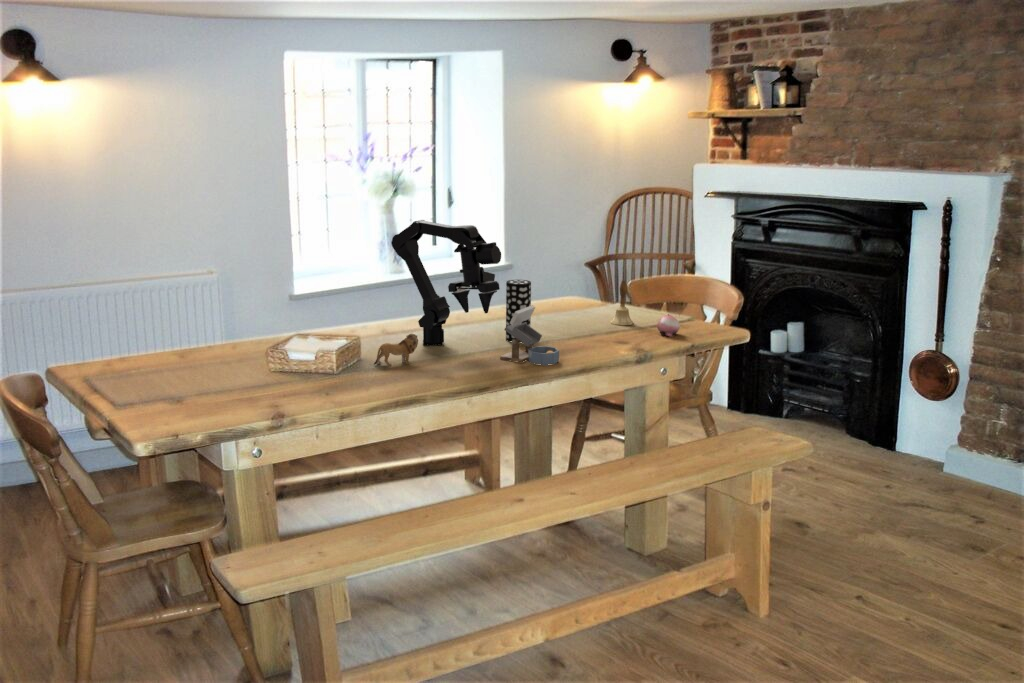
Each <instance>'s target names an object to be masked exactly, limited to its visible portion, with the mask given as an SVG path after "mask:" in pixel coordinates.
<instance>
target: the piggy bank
mask: <svg viewBox="0 0 1024 683" xmlns="http://www.w3.org/2000/svg"><path fill="white" fill-rule="evenodd" d="M680 326H681V325H680V322H679V320H678V319H677V318H676V317H675V316H673V315H672V314H669V313H667V314H665V315H664V316H662V317H660V318H659V319H658V321H657V324H656V328H657V330H658V331H659V334H661V335H663V336H667V337H669V338H674V337H676V336H677V334H678V332H679V331H680Z"/></svg>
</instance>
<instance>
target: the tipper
mask: <svg viewBox="0 0 1024 683" xmlns="http://www.w3.org/2000/svg"><path fill="white" fill-rule="evenodd" d="M535 309H536V306H535V305H532V304H531V306H529V307H526V308H524V309H521V310H518V311H515V313H514V315H513V317H512V319H511V321H510V324H511V325H509V326H507V327H506V326H505V327H504V330H503V331H505V332H506V331H507V332H508V333H509V334H511V335H512V336H513V337H515V338H516V339H518V340H519V341H520V342H522V344H523V345H524V346H525V345H526V346H527V347H529V346H531V345H532V346H533V345H535V344H538V343H540V341H541V339H542V337H543V334H541V333H540V332H539V331H537V330H536V329H534V328H533V327H531V325H530V326H529V325H527V323H526V322H524V323H522V322H523V321H525V320H528V319H530V317H532V315H533V313H534V311H535ZM521 323H522V324H521Z"/></svg>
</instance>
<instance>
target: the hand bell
mask: <svg viewBox="0 0 1024 683" xmlns="http://www.w3.org/2000/svg"><path fill="white" fill-rule="evenodd" d="M627 292H628V286H627V282H626V279H622V280H621V282H620V285H619V294H620V305H619V306H618V307H616V310H615V314H614V317H613V319H612V320H610V323H612V324H611V325H613V326H630V325H631V326H632V325H633V324H634V321H633V320H632V318H631V316H630V311H629V310H630V309H629V308H627V307H626V305H625V304H626V295H627Z"/></svg>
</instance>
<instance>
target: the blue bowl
mask: <svg viewBox="0 0 1024 683" xmlns="http://www.w3.org/2000/svg"><path fill="white" fill-rule="evenodd" d="M548 351H553V353H546V352H548ZM528 360H529V361H530V362H531V363H535V364H541V365H543V366H549V365H548V364H554V365H556V364H558V363H559V362H560V350H559V348H557V347H555V346H548V345H541V346H540V345H539V346H532V348H530V349H528ZM528 360H527V361H528ZM529 361H528V362H529ZM530 362H529V363H530ZM557 362H558V363H557ZM531 363H530V364H531ZM555 363H556V364H555ZM535 364H534V365H535ZM541 365H540V366H541Z"/></svg>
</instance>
